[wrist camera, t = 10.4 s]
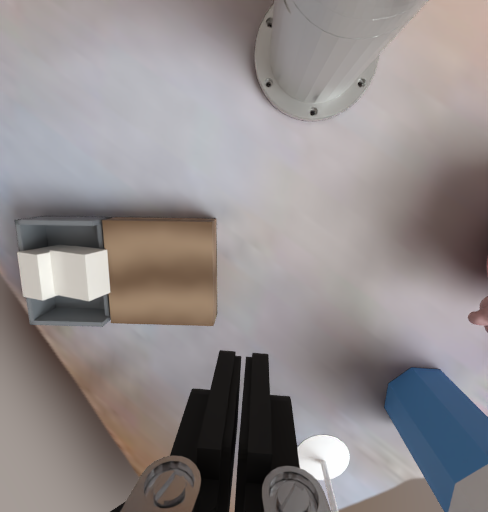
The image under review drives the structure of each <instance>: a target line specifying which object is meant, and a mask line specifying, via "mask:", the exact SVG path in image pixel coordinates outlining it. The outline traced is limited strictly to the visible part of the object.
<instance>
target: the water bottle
mask: <svg viewBox="0 0 488 512" xmlns="http://www.w3.org/2000/svg"><path fill="white" fill-rule="evenodd" d="M384 408H385V409H386V411H387V413H388V415H389V416H390V418H391V420H392V422H393V423H394V425H395V427H396V429H397V430H398V432H399V434H400V436H401V437H402V439H403V441H404V442H405V444H406V446H407V448H408V449H409V451H410V453H411V455H412V456H413V458H414V460H415V462H416V463H417V465H418V467H419V469H420V470H421V472H422V474H423V475H424V477H425V479H426V481H427V482H428V484H429V486H430V488H431V489H432V491H433V493H434V495H435V496H436V498H437V500H438V502H439V503H440V505H441V507H442V508H443V510H444V512H488V417H487V416H486V415H485V414H484V413H483V412H482V411H481V410H480V409H479V408H478V407H477V406H476V405H475V404H474V403H473V402H472V401H471V400H470V399H469V398H468V397H467V396H466V395H465V394H464V393H463V392H462V391H461V390H460V389H459V388H458V387H457V386H456V385H455V384H454V383H453V382H452V381H451V380H450V379H449V378H448V377H447V376H446V375H445V374H444V373H443V372H442V371H441V370H440V369H427V368H413V367H411V368H410V369H408V370H407V371H406V372H404V373H403V374H401V375H400V376H398V377H397V378H396V379H394V380H393V381H391V382H390V383H388V389H387V395H386V400H385V406H384Z"/></svg>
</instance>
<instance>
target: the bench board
mask: <svg viewBox="0 0 488 512" xmlns="http://www.w3.org/2000/svg"><path fill="white" fill-rule="evenodd" d="M102 225H103V236H104V248H105V249H106V250H107V254H108V267H109V281H110V293H109V305H110V316H111V323H126V324H162V325H198V326H213V325H214V322H215V319H216V316H217V240H216V219H203V218H134V217H115V218H110V219H106V220H102Z"/></svg>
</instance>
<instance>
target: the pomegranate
mask: <svg viewBox="0 0 488 512" xmlns="http://www.w3.org/2000/svg"><path fill="white" fill-rule="evenodd" d="M487 276H488V257H487ZM468 319H469V321H470V322H471V323H473V324H476V325H484V327H485V329H486V331H487V332H488V296H487V297H485V298H484V299H483V300H482V301H481V303H480V310H478V311H477V312H471V313H470V314H469V316H468Z"/></svg>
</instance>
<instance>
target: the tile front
mask: <svg viewBox="0 0 488 512" xmlns="http://www.w3.org/2000/svg"><path fill="white" fill-rule="evenodd" d="M49 251H50V259H51V268H52V276H53V285H54V293H55V295H60V296H65V297H70V298H75V299H80V300H85V301H91V300H93V299H96V298H98V297H101V296H103V295H106V294H108V293H110V281H109V267H108V254H107V250H106V249H98V248H90V247H81V246H69V247H64V248H58V249H53V250H49Z"/></svg>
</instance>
